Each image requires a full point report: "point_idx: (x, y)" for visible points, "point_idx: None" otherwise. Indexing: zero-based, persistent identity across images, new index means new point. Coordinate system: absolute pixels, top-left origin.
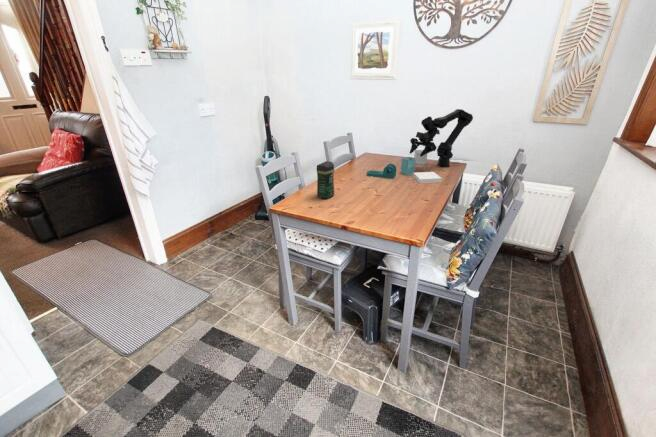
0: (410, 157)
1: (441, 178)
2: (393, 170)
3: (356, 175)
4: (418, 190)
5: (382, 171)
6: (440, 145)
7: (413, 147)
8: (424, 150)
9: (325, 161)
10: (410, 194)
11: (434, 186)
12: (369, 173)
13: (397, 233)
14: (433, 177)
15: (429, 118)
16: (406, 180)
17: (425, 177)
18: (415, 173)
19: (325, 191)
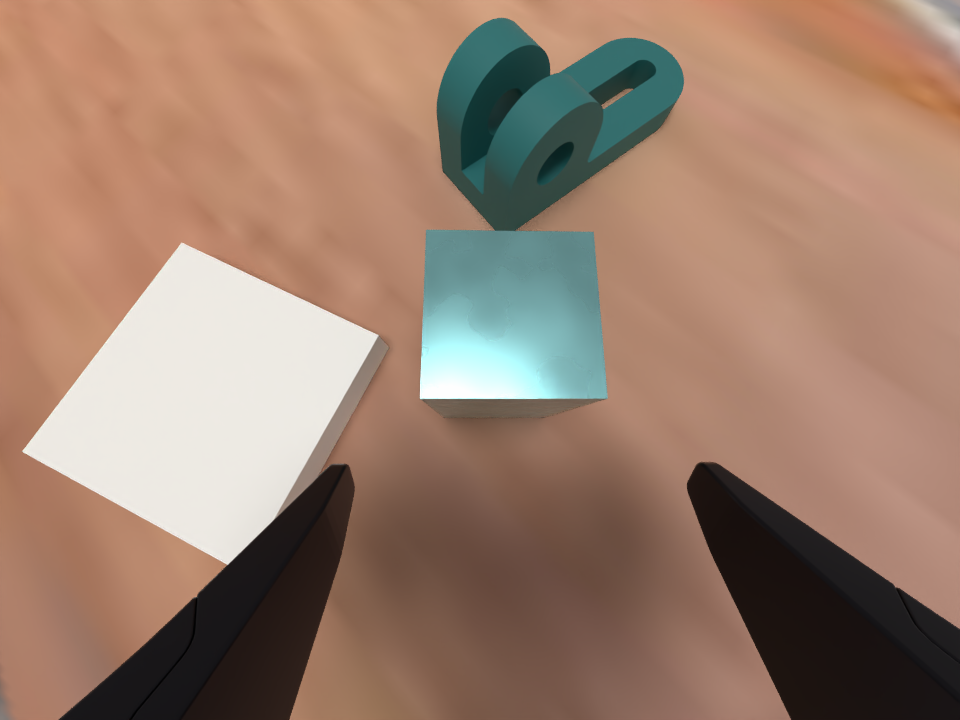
0: (550, 385)
1: (28, 448)
2: (441, 96)
3: (668, 15)
4: (110, 142)
5: (602, 145)
6: None
7: (884, 687)
8: (158, 638)
9: None
10: (105, 54)
11: (63, 305)
12: (612, 43)
13: None
14: (111, 393)
15: None
16: (341, 224)
17: (176, 322)
18: (342, 335)
19: None
